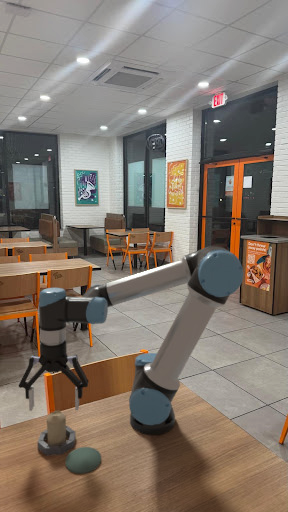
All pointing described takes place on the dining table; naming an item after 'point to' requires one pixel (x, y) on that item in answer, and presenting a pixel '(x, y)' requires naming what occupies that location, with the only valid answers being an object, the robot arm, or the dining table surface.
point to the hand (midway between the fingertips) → (54, 408)
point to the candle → (56, 428)
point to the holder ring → (56, 448)
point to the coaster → (83, 460)
